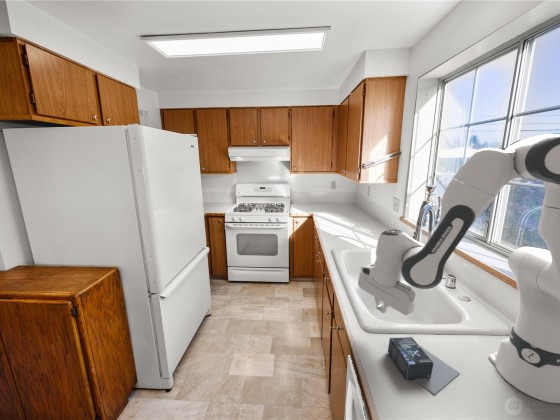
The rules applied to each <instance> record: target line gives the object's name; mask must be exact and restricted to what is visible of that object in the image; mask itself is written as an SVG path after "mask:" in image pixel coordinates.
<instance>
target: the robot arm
mask: <svg viewBox="0 0 560 420" xmlns="http://www.w3.org/2000/svg"><path fill="white" fill-rule="evenodd" d="M517 178H521V179H525V180H529V181H541V182H542V184H543V187H544V192H545V194H544V197H543V201H542V207H541V211H540V217H539V224H538V229H537V232H538V235H539V236H540V238H541V239H542V240H543V241H544V243H545V244H546V246H547V248H548V249H545V248H541V247H540V248H539V247H534V246H522V247H518V248H516V249H515V250H513V251H512V253H510V255H509V257H508V258H507V264H508V265H507V266H508V268H509V269H510V271H511V273H512V274H513V276H514V279H515V282H516V287H517V292H518V300H519V302H518V311H517V316H516V319H515V324H514V326H513V327H512V328H511V330H510V332H509V337H508V338H505V339H502V340H501V341H500V344H499V347H498V350H497V351H495V352H493V353H490V354H489V355H488V359H489V360H490V361H491V363H492V364H493V365H495V367H496V370H497V371H498V373H499V374H500V376H501V377H502V378H503V379H504V380H506V382H507V383H509V384H510V385H511V386H513V387H514V388H515V389H517V390H519V391H521V392H522V393H525V394H526V395H527V396H529V397H532V398H534V399H537V400H540V401H542V402H546V403H553V404H560V133H559V134H543V135H537V136H534V137H529V138H528V137H527V138H523V139H520V140H517V141H514V142H512V143H510V144H509V145H507V146H505V147H503V148H502V149H500V148H493V147H487V148H481V149H479V150H477V151H476V152H475V153H473V155H471V156H470V157H469V158H468V160H466V161H465V163H464V164H463V165H462V166H461V167H459V170H457V172H456V173H455V175H454V176H453V178H452V179H451V180H450V182H449V184H448V185H447V186H446V188H445V190H444V192H443V195H442V198H441V200H440V201H441V206H440V207H441V209H440V210H441V212H440V218H439V221H438V224H437V225H436V227H435V229H434V231H433V232H432V233H431V235H430V237H428V239H427V241H426V243H423V242H421V241H420V240H419V241H418V240H417V239H415V238H413V237H412V236H410V235H409V234H408V233H407V232H406V231H404V230H401V229H387V230H384V231H383V232H381V233H380V235H379V237H378V239H377V245H376V248H375V261H374V263H368V264H365V265H363V266H361V267H360V272H359V274H358V278H357V285H358V287H359V289H361V290H363V291H364V292H366V293H368V294H369V295H371V296H373V297H374V302H375V304H376V310H378V311H379V312H380V313H382V314H385V313H387V310H388V309H387V308H390V307H391V308H392V309H393V310H395V311H397V312H399V313H400V314H402V315H404V316H408V315H410V314H412V313H413V312H414V310H415V298H416V292H415V291H414V289H413V288H416V289H420V290H430V289H433V288H435V287H437V286H438V285H439V284H440V283H441V282H442V280H443V276H444V269H445V265H446V263H447V261H448V260H449V258H450V257H451V255H452V254H453V252H454V251H455V249H457V247H458V245H459V244H460V243H461V241H462V239H464V237H465V235H466V234H467V232H468V230H470V228H471V227H472V226H473V224H474V223H475V222H476V221H477V220H478V218H479V217H480V216H481V215H482V214H483V212H484V211H485V210H486V209H487V208H488V207H489V205H490V204H492V202H493V201H494V200H495V198H496V197H497V196H498V195H499V193H500V192H501V190H502V189H503V188H504V186H506V185H507V184H508V183H509V182H511V181H512V180H514V179H517ZM402 278H403V279H404V281H405V282H406V283H407V284H409V285H410V286H409V285H406V284H405V283H403V282H402V281H401V279H402ZM382 302H383V304H382Z"/></svg>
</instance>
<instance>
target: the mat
mask: <svg viewBox="0 0 560 420" xmlns="http://www.w3.org/2000/svg"><path fill="white" fill-rule="evenodd" d="M419 346H420V345H419ZM420 347H421V349H422V350H423V351H424V352H425V353H426V355H427V356H428V357H429V358H430V359H431V361H432V362H433V369H432V373H431V378H418V379H414V380H415V381H416V382H418V383H419V384H420V385H421V386H423V387H424V388H425V389H426V390H427V391H429V392H430V393H431V394H432V395H434V396H436V394H438V393H439V392H440V391H442V390H443V389H444V388H445V387H446V386H447V385H449V383H451V382H452V381H453V380H455V378H457V376H459V375H460V374H461V372H459V371H458V370H456V369H455V368H453V367H452V366H451V365H449V364H448V363H446V362H444V361H443V360H442V359H441V358H439V357H438V356H436V355H434V354H433V353H432V352H430V351H428V350H427V349H425V348H424V347H423V346H420Z"/></svg>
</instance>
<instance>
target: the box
mask: <svg viewBox="0 0 560 420" xmlns="http://www.w3.org/2000/svg"><path fill="white" fill-rule="evenodd" d="M421 347H422V346H421ZM421 347H420V345H419V344H418V342H417V341H416V340H415V339H414V338H413V336H411V337H410V336H408V337H406V336H405V337H389V341H388V347H387V352H388V355H390V356H389V357H391V359H392V360H393V362H394V363H395V365H396V367H397V368H398V370H399V371H400V373H401V374H402V376H403V377H404V379H405V380H415V379H418V378H431V373H432V369H433V362H432V361H431V359H430V358H429V357H428V356H427V355H426V353H425V352H424V351H423V350H422V349H421Z"/></svg>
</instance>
